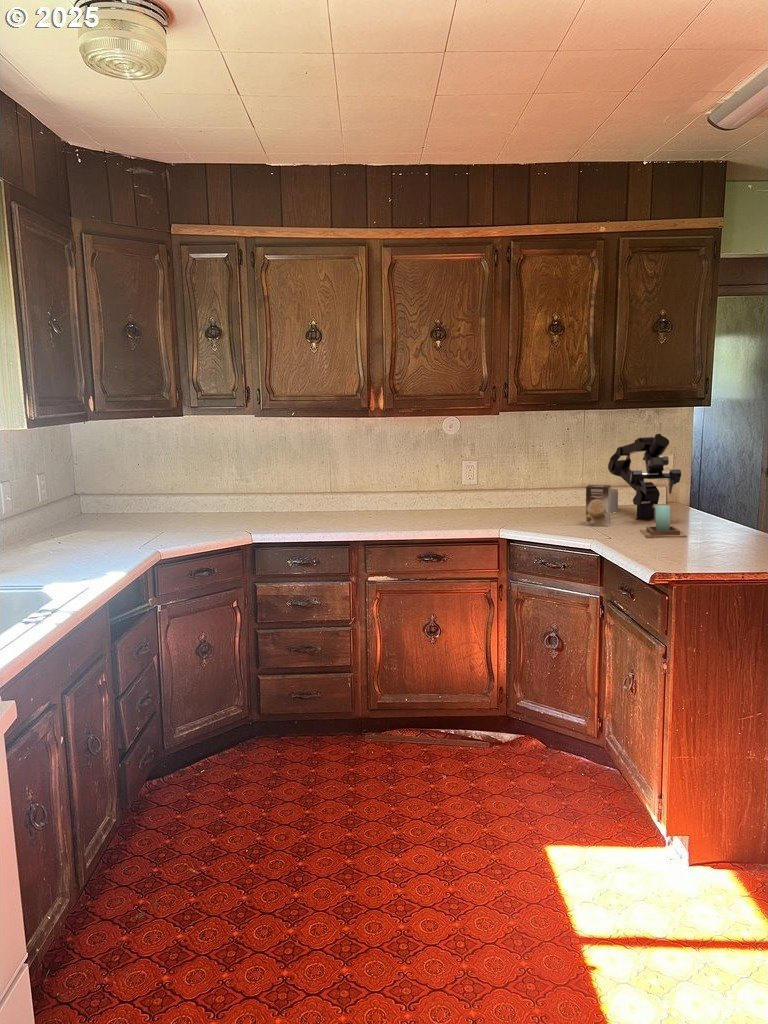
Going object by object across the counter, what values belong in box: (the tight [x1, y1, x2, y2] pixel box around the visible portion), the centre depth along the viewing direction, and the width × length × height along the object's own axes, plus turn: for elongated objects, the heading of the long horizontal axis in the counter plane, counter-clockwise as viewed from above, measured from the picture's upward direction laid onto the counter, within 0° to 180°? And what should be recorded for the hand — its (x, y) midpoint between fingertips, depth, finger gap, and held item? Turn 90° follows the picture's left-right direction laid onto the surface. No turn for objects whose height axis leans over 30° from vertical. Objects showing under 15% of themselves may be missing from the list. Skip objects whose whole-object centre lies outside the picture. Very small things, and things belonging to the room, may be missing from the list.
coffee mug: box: [610, 488, 619, 513], centre depth 341 cm, size 13×10×10 cm
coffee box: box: [585, 484, 612, 527], centre depth 309 cm, size 9×6×16 cm
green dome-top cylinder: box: [655, 504, 671, 531], centre depth 285 cm, size 5×5×10 cm
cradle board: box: [639, 525, 688, 539], centre depth 285 cm, size 14×14×2 cm
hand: (658, 493), depth 299 cm, fingers open, 9 cm apart
